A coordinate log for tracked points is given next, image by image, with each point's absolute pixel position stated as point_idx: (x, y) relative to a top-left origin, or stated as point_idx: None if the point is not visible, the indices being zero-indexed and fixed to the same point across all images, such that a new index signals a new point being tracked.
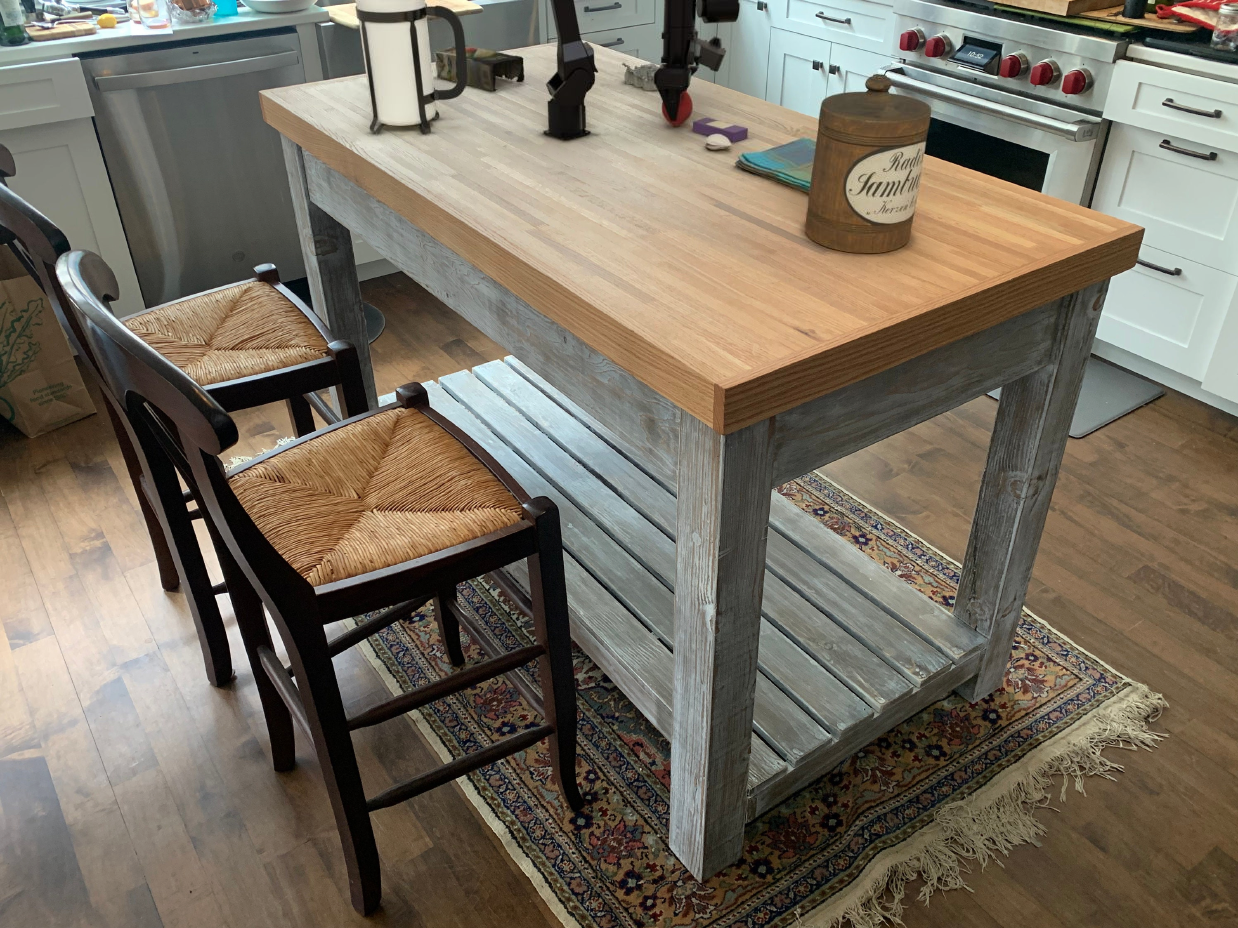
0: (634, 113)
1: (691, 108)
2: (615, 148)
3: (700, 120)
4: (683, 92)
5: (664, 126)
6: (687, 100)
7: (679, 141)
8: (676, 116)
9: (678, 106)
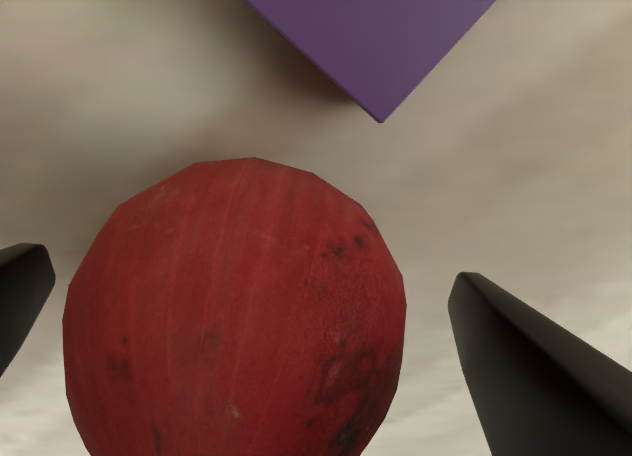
0: (56, 416)
1: (290, 183)
2: None
3: (338, 45)
4: (284, 422)
5: None
6: (331, 289)
7: (595, 185)
8: (507, 295)
9: (610, 363)
